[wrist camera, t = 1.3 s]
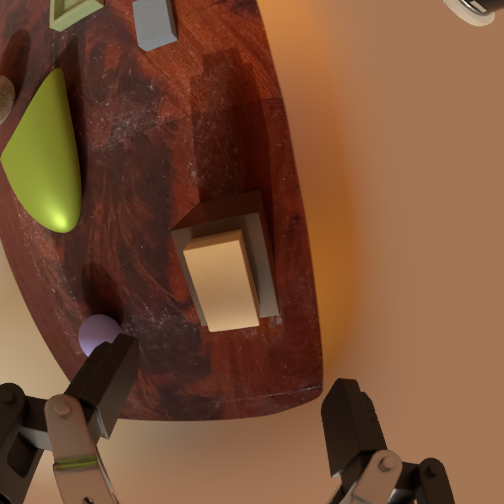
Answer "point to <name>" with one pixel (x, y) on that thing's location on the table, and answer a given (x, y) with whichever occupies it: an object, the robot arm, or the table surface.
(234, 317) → the birch pad
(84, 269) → the table surface
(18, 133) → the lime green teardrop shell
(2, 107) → the decorative object
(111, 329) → the sphere
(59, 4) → the olive green tray
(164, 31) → the rubber pad
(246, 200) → the stand
